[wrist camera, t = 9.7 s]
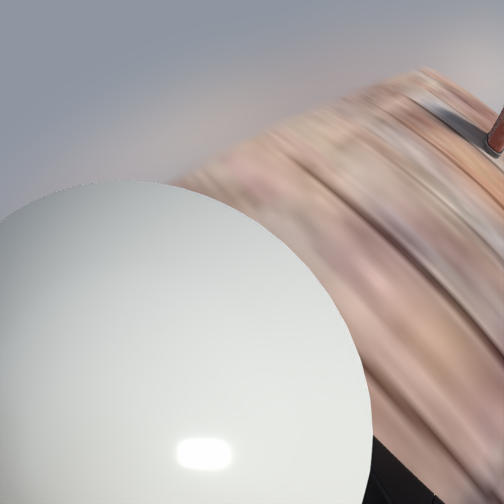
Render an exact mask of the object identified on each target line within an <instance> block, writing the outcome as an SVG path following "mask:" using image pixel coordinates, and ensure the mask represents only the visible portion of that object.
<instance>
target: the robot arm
mask: <svg viewBox="0 0 504 504" xmlns="http://www.w3.org/2000/svg"><path fill="white" fill-rule="evenodd" d="M362 504H445V503H444V502H443V501H442V500H440V499H439V498H438V497H437V496H436V495H434V493H433V492H432V491H431V490H430V489H428V488H427V487H426V486H425V485H424V484H423V483H422V482H421V481H420V480H419V479H418V478H417V477H416V476H415V475H414V474H413V473H412V472H410V471H409V470H408V469H407V468H406V467H405V466H404V465H403V464H402V463H401V462H400V461H399V460H398V459H397V458H396V457H395V456H394V455H393V454H392V453H391V452H390V451H389V450H388V449H387V448H386V447H385V446H384V445H383V444H382V443H381V442H380V441H379V440H378V439H377V438H376V437H375V436H374V435H373V440H372V455H371V466H370V473H369V477H368V481H367V486H366V490H365V493H364V497H363V501H362Z"/></svg>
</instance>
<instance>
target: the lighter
mask: <svg viewBox="0 0 504 504" xmlns="http://www.w3.org/2000/svg"><path fill="white" fill-rule="evenodd" d="M483 145H484V149H485V150H486V151H487V153H489V154H490V155H491V156H492V157H494V158H496V159H497V158H499V157H500V156H501V154H502V153H503V151H504V108H503V110H502V111H501V113H500V115H499V117H498V119H497V120H496V122H495V124H494V126H493V128H492V129H491V131H490V132H489V133H488V134H487V135H486V137H485V139H484V142H483Z"/></svg>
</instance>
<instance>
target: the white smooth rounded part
mask: <svg viewBox="0 0 504 504" xmlns="http://www.w3.org/2000/svg"><path fill="white" fill-rule="evenodd" d="M372 440H373V428H372V416H371V405H370V396H369V391H368V387H367V383H366V379H365V375H364V371H363V367H362V363H361V360H360V357H359V355H358V352H357V349H356V347H355V345H354V342H353V340H352V337H351V335H350V332H349V330H348V327H347V325H346V324H345V322H344V320H343V318H342V317H341V315H340V313H339V311H338V310H337V308H336V306H335V304H334V303H333V301H332V299H331V297H330V296H329V294H328V293H327V292H326V290H325V289H324V288H323V286H322V285H321V284H320V282H319V281H318V280H317V278H316V277H315V276H314V275H313V273H312V272H311V271H310V269H309V268H308V267H307V266H306V265H305V264H304V263H303V262H302V261H301V260H300V259H299V258H298V257H297V256H296V255H295V254H294V253H293V252H292V251H291V250H290V249H289V248H288V247H287V246H286V245H285V244H284V243H283V242H282V241H280V240H279V239H278V238H277V237H275V236H274V235H273V234H272V233H270V232H269V231H268V230H267V229H265V228H264V227H263V226H262V225H260V224H259V223H257V222H256V221H254V220H252V219H251V218H249V217H247V216H246V215H244V214H242V213H241V212H239V211H237V210H236V209H234V208H232V207H230V206H228V205H226V204H223V203H221V202H219V201H217V200H215V199H212V198H210V197H208V196H205V195H202V194H199V193H196V192H193V191H190V190H187V189H183V188H180V187H175V186H170V185H165V184H159V183H154V182H142V181H107V182H98V183H91V184H85V185H79V186H75V187H72V188H68V189H65V190H62V191H58V192H55V193H52V194H50V195H47V196H45V197H43V198H40V199H38V200H36V201H33V202H31V203H30V204H28V205H26V206H24V207H22V208H21V209H19V210H17V211H15V212H14V213H12V214H11V215H9V216H8V217H7V218H5V219H4V220H2V221H1V222H0V504H362V501H363V497H364V493H365V490H366V486H367V481H368V477H369V473H370V466H371V455H372Z"/></svg>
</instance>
